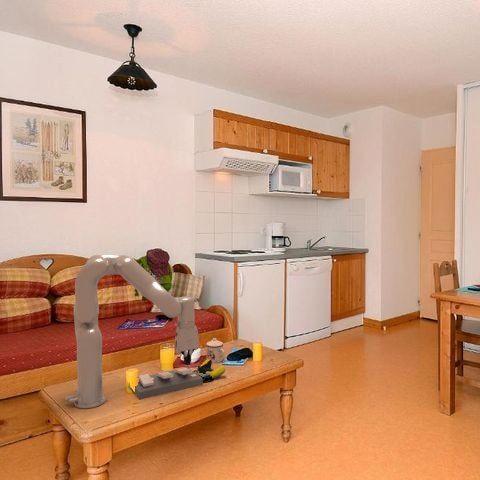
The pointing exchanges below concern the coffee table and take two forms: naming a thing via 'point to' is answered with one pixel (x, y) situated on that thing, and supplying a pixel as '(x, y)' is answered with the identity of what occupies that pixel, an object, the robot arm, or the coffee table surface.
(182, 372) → the rocker right
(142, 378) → the rocker left
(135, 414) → the coffee table surface
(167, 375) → the rocker middle
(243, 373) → the coffee table surface
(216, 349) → the teacup with lid
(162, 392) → the switch panel
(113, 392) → the coffee table surface
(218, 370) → the yellow black spring clamp
